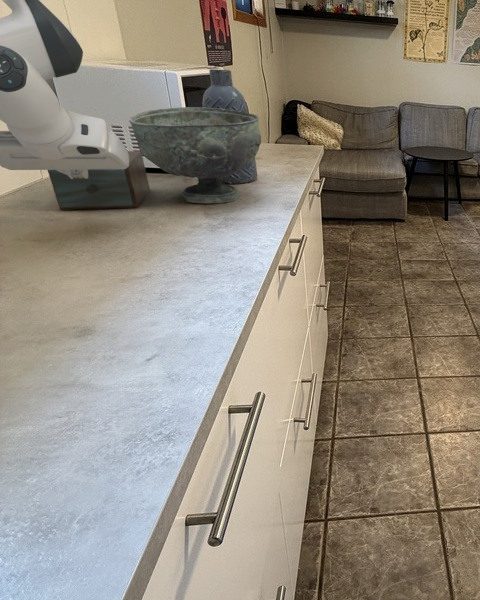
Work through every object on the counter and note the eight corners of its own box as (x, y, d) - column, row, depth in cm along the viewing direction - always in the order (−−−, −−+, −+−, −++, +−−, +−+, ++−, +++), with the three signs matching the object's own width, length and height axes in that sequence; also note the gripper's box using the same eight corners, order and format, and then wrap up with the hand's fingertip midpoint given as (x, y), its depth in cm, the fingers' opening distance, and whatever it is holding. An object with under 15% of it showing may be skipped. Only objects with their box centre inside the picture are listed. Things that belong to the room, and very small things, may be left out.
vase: (255, 184, 131) (241, 72, 118) (207, 184, 128) (188, 69, 115) (260, 174, 142) (248, 70, 129) (216, 173, 139) (200, 67, 126)
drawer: (131, 206, 104) (123, 171, 101) (58, 209, 100) (46, 172, 96) (144, 188, 117) (137, 156, 114) (80, 190, 113) (70, 156, 109)
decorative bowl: (273, 182, 132) (262, 106, 122) (266, 211, 111) (252, 122, 101) (169, 186, 126) (148, 106, 116) (140, 217, 104) (112, 122, 95)
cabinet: (138, 207, 107) (127, 164, 103) (60, 210, 102) (45, 165, 98) (150, 189, 120) (141, 151, 115) (81, 191, 115) (69, 150, 110)
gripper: (-30, 147, 78) (15, 190, 91) (115, 148, 85) (137, 188, 98) (-28, 115, 80) (16, 162, 93) (114, 119, 87) (137, 162, 100)
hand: (79, 175), depth 95 cm, fingers closed
